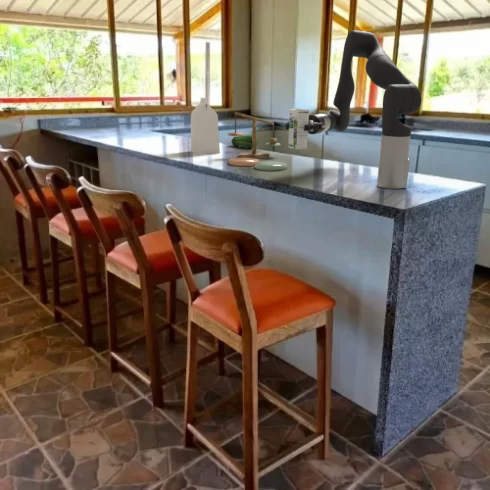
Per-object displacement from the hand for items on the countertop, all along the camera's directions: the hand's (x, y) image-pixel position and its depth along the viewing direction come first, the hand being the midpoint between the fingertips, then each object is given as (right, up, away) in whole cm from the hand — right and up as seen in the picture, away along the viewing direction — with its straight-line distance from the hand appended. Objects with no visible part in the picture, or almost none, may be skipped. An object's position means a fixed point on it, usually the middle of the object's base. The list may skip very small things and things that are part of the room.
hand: (295, 127), depth 178 cm
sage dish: (-8, -12, +19) cm, 24 cm away
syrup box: (+1, -7, +4) cm, 8 cm away
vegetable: (-20, +8, +79) cm, 81 cm away
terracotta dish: (-19, -9, +28) cm, 35 cm away
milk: (-39, +2, +60) cm, 71 cm away
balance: (-15, -3, +46) cm, 48 cm away
